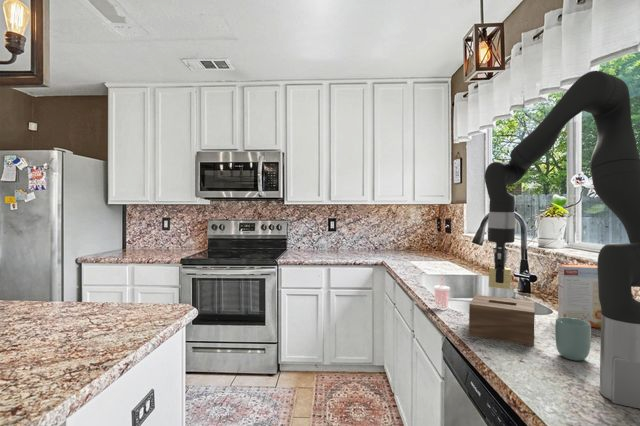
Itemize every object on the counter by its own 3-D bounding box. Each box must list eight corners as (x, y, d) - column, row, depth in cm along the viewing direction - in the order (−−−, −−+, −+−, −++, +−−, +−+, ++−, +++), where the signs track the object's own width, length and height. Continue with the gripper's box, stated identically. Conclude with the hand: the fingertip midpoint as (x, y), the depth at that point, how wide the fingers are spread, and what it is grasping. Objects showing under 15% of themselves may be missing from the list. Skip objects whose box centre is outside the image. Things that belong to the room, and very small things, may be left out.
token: (510, 289, 113) (510, 269, 112) (488, 286, 115) (489, 267, 115) (510, 287, 115) (510, 268, 114) (489, 285, 118) (489, 266, 117)
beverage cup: (441, 312, 144) (442, 276, 144) (430, 308, 149) (430, 273, 149) (452, 310, 147) (453, 275, 147) (441, 306, 152) (441, 272, 152)
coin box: (534, 346, 109) (534, 312, 109) (468, 335, 118) (469, 303, 118) (533, 331, 122) (534, 301, 122) (475, 322, 131) (475, 294, 131)
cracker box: (601, 324, 131) (602, 265, 130) (610, 329, 125) (611, 267, 125) (556, 320, 134) (557, 263, 134) (563, 325, 128) (564, 265, 128)
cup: (574, 365, 96) (575, 326, 96) (548, 353, 103) (549, 318, 103) (597, 362, 98) (598, 324, 98) (570, 351, 105) (570, 316, 105)
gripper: (514, 228, 107) (512, 287, 107) (515, 225, 119) (513, 279, 119) (486, 227, 110) (484, 284, 111) (489, 225, 122) (488, 276, 123)
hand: (499, 281), depth 115 cm, fingers closed on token, 2 cm apart
